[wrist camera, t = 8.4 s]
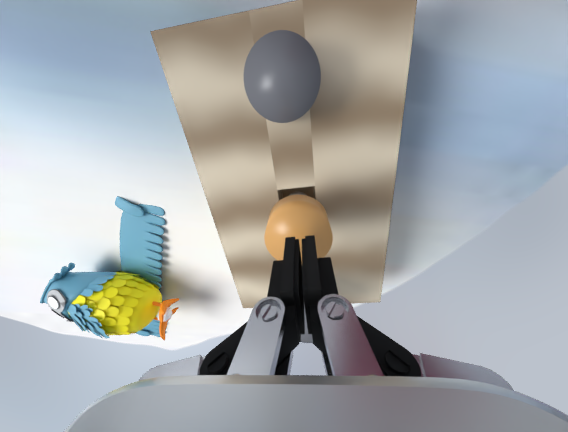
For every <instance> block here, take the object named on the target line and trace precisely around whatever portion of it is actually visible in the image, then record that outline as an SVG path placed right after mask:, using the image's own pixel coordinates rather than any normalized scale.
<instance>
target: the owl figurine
mask: <svg viewBox="0 0 568 432" xmlns="http://www.w3.org/2000/svg"><path fill="white" fill-rule="evenodd" d="M115 205H116V206H117V207H118V208H120V209H121V210H123V213H122V217H121V225H120V257H121V271H118V272H75V273H72V272H69V271H70V270H72V269H73V268H74V267H75V264H74V263H69V265H68V267H66V266H64V267H62V269H61V273H56V274H55V275H54V277H53V278H52V279H51V280H49V283H48V285H47V286H46V288H45V290H44V292H43V295H42V297H41V300H40V303H47V304H48V306H49V307H50V308H52V311H54V312H55V313H56V314H58V315H59V316H61V317H63V318H66V319H68V320H67V321H70V322H75V323H76V324H77V325H78V326H79V328H80V329H81V330H82V331H86V330H87V331H88V332H89V330H90V331H91V332H93V333H94V334H95V335H97V336H99V335H100V337H101V335H102V336H103V337H105V338H106V337H107V338H109V335H129V334H130V333H137V334H139V335H142V336H149V335H150V334H151V335H154V336H158V337H161V338H162V339H163V340H165V330H166V327H167V322H168V320H169V319H170V318H171V316H172V315H173V314H174V313H175V312H176V310H177V309H178V308H179V307H178V308H175V309H173V310H172V309H170V308H169V307H170V306H171V304H173V303H175V302H176V301H178V300H179V298H177V299H169V300H165V301H163V302H162V294H161V293H160V291H159V290H158V289H160V288H161V287H162V286H161V284H159V283H158V282H161V281H162V279H161V277H159V276H157V275H161V274H162V271H161V270H160V269H158V268H161V267H162V263H161V262H159V261H157V260H161V259H162V255H161V254H159V253H157V252H162V251H163V248H162V247H161V246H160V245H158V244H162V243H163V239H162V238H161V237H160V236H157V235H155V234H158V235H163V233H164V230H163V229H162V228H161V227H159V226H157V225H161V226H162V225H164V224H165V220H164V219H163V218H161V217H159V216H163V215H164V210H163V209H162V208H160V207H157V206H152V205H144V204H139V205H134V204H132V203H130V202H128V201H126V200H125V199H123V198H121V197H119V196H117V198H116V201H115ZM150 213H152V214H155V215H152V214H150ZM156 215H159V216H156ZM155 224H156V225H155ZM150 232H151V233H150ZM153 233H154V234H153ZM153 242H154V243H153ZM155 243H157V244H155ZM152 250H153V251H152ZM155 251H156V252H155ZM152 258H153V259H152ZM155 259H156V260H155ZM156 267H157V268H156ZM152 273H153V274H152ZM155 274H156V275H155ZM88 329H89V330H88ZM89 333H90V332H89ZM107 334H109V335H107ZM101 338H102V337H101ZM107 338H106V339H107Z"/></svg>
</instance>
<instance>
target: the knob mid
mask: <svg viewBox="0 0 568 432" xmlns="http://www.w3.org/2000/svg"><path fill="white" fill-rule="evenodd" d="M310 235H315V243H316V251H317V258H324V257H325V256H326V255H327V253H328V252H329V250H330V249H331V246H332V242H333V234H332V230H331V227H330V223H329V220H328V216H327V213H326V210H325V208H324V207H323V206H322V204H321V203H320V202H318V201H317V200H316V199H314V198H312V197H310V196H307V195H306V194H305V193H303V192H293V193H291V194H290V195H289V196H287V197H285V198H283V199H281V200H279V201H278V202H277V203H276V204H275V205H274V206H273V208H272V210H271V212H270V215H269V219H268V223H267V226H266V230H265V235H264V240H265V245H266V248H267V250H268V251H269V253H270V254H271V255H272V256H273V257H274V258H275V259H276V260H283V256H284V247H285V238H286V237H295V239H299V244H300V252H301V261H302V239H304V238H305V236H310Z"/></svg>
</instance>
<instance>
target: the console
mask: <svg viewBox="0 0 568 432" xmlns="http://www.w3.org/2000/svg"><path fill="white" fill-rule="evenodd" d="M416 5H417V0H296V1H292V2H287V3H282V4H277V5H273V6H268V7H263V8H259V9H254V10H249V11H244V12H240V13H235V14H230V15H225V16H221V17H216V18H211V19H207V20H202V21H197V22H192V23H188V24H183V25H178V26H173V27H169V28H164V29H159V30H155V31H150V32H151V35H152V38H153V41H154V44H155V47H156V50H157V53H158V56H159V59H160V62H161V65H162V68H163V71H164V74H165V77H166V80H167V83H168V86H169V89H170V91H171V94H172V97H173V100H174V103H175V106H176V109H177V112H178V115H179V118H180V121H181V124H182V127H183V130H184V133H185V136H186V139H187V142H188V145H189V148H190V151H191V154H192V157H193V160H194V163H195V166H196V169H197V172H198V175H199V178H200V181H201V184H202V187H203V190H204V193H205V196H206V199H207V202H208V205H209V208H210V211H211V214H212V216H213V219H214V222H215V225H216V228H217V231H218V234H219V237H220V240H221V243H222V246H223V249H224V252H225V255H226V258H227V261H228V264H229V267H230V270H231V273H232V276H233V279H234V282H235V285H236V288H237V291H238V294H239V297H240V300H241V303H242V306H243V308H254V306H255V304H256V303H257V302H258V301H260V300H261V299H263V298H266V297H267V295H268V289H269V283H270V277H271V271H272V265H273V261H276V259H275V258H274V257H273V256H272V255H271V254H270V253H269V251H268V250H267V248H266V245H265V240H264V235H265V230H266V226H267V223H268V219H269V215H270V212H271V210H272V208H273V206H274V205H275V204H276V203H277V202H278V201H279V200H281V199H283V198H285V197H287V196H289V195H290V194H291V193H293V192H303V193H305V194H306V195H307V196H310V197H312V198H314V199H316V200H317V201H318V202H320V203H321V204H322V206H323V207H324V208H325V210H326V213H327V216H328V220H329V223H330V227H331V230H332V234H333V242H332V246H331V249H330V250H329V252H328V253H327V255H326V256H325V257H331V261H332V266H333V271H334V275H335V280H336V285H337V289H338V294H339V295H341V296H343V297H345V298H346V299H347V300H349V302H350V303H371V302H380V300H381V292H382V284H383V276H384V268H385V259H386V251H387V243H388V235H389V226H390V218H391V210H392V202H393V194H394V185H395V177H396V169H397V161H398V153H399V144H400V136H401V128H402V120H403V111H404V103H405V95H406V87H407V79H408V70H409V62H410V54H411V46H412V38H413V29H414V21H415V13H416ZM276 30H288V31H292V32H295V33H297V34H299V35H300V36H302V37H303V38H305V39H306V40H307V41H308V42H309V44H310V45H311V46H312V48H313V49H314V51H315V53H316V55H317V57H318V60H319V64H320V70H321V83H320V89H319V93H318V95H317V98H316V100H315V102H314V104H313V105H312V107H311V108H310V109H309V111H308V112H307V113H306V114H304V115H303V116H302V117H300V118H299V119H297V120H295V121H292V122H288V123H277V122H272V121H270V120H267V119H266V118H264V117H263V116H261V115H260V114H259V113H258V112H257V111H256V110H255V109H254V108H253V106H252V105H251V103H250V101H249V99H248V97H247V94H246V91H245V87H244V66H245V62H246V59H247V56H248V54H249V52H250V50H251V48H252V47H253V45H254V44H255V43H256V42H257V41H258V40H259V39H260V38H261V37H263V36H264V35H265V34H268V33H270V32H273V31H276Z"/></svg>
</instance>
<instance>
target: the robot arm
mask: <svg viewBox="0 0 568 432" xmlns="http://www.w3.org/2000/svg"><path fill="white" fill-rule="evenodd" d="M304 305H305V313H306V320H307V328H308V334H312V339H313V344H314V345H315V346H316V347H317V348H318V349H319V350H321V353H322V358H323V362H324V367H325V371H326V375H327V376H313V375H312V376H309V375H300V376H299V375H290V371H291V365H292V358H293V349H294V348H295V347H296V346H297V345H298V344H299V342H301V335H302V334H305V317H304ZM63 432H568V415H566V414H564V413H563V412H561V411H559V410H557V409H555V408H553V407H551V406H549V405H547V404H545V403H543V402H541V401H539V400H536V399H534V398H531V397H529V396H526V395H524V394H521V393H519V392H516V391H514V390H513V389H512V387H511V386H510V384H509V383H508V382H507V381H505V380H504V379H503V378H502V377H501V376H500V375H498V374H497V373H495V372H493V371H492V370H490V369H487V368H485V367H482V366H477V365H473V364H469V363H464V362H459V361H454V360H450V359H445V358H440V357H436V356H431V355H426V354H422V353H420V356H418V355H413V354H411V353H410V352H409V351H408V350H406V349H405V348H404V347H402V346H401V345H399V344H398V343H396V342H395V341H393V340H392V339H390V338H389V337H388V336H386V335H385V334H383V333H381V332H380V331H379V330H377V329H376V328H374V327H373V326H371V325H370V324H368V323H367V322H365V321H364V320H362V319H361V318H359V317H358V316H356V313H355V311H354V309H353V307H352V305H351V303H350V302H349V300H347V299H346V298H345V297H343V296H341V295H339V294H338V289H337V285H336V280H335V275H334V271H333V266H332V261H331V257H324V258H317V251H316V243H315V235H310V236H305V238H304V239H302V261H301V252H300V244H299V239H295V237H286V238H285V247H284V256H283V260H276V261H273V265H272V271H271V277H270V283H269V289H268V295H267V297H266V298H263V299H261V300H260V301H258V302H257V303H256V304H255V306H254V308H253V310H252V312H251V315H250V317H249V320H248V322H247V323H245V324H244V325H243V326H241V327H240V328H239V329H238V330H236V331H235V332H234V333H233V334H231V335H230V336H229V337H228V338H226V339H225V340H224V341H223V342H221V343H220V344H219V345H218V346H216V347H215V348H214V349H213V350H211V351H210V352H209V353H208V354H207V355H206V356H204V357H202V356H201V355H198V356H194V357H190V358H186V359H182V360H179V361H175V362H171V363H167V364H163V365H159V366H156V367H154V368H151V369H150V370H149V371H147V372H146V373H145V374H144V375H143V376H142V377H141V378H140V379H139V381H137V382H134V383H131V384H128V385H126V386H123V387H121V388H118V389H116V390H114V391H112V392H110V393H108V394H106V395H104V396H102V397H101V398H99V399H97V400H96V401H94V402H93V403H92V404H90V405H89V406H88V407H87V408H85V409H84V410H83V411H82V412H81V413H80V414H79V415H78V416H77V417H76V418H75V419H74V420H73V421H72V422H71V424H69V426H68V427H67V428H66V429H65V430H64V431H63Z"/></svg>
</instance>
